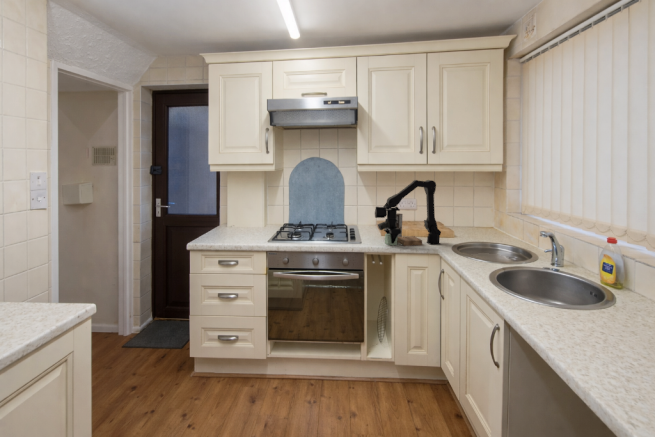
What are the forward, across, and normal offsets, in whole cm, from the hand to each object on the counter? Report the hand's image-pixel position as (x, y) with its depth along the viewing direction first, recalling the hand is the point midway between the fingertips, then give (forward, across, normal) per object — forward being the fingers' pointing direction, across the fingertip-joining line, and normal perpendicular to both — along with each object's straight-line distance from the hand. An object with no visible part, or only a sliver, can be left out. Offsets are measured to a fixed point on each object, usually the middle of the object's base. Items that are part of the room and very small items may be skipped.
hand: (390, 242), depth 223 cm
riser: (+1, 0, +12) cm, 12 cm away
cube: (+1, 0, 0) cm, 1 cm away
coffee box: (+1, -19, +9) cm, 21 cm away
